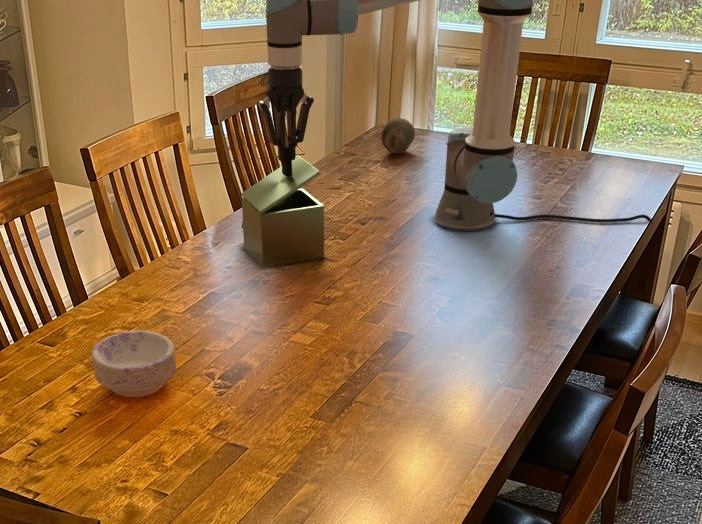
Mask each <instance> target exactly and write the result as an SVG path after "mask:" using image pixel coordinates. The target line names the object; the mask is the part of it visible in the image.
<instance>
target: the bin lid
mask: <svg viewBox="0 0 702 524" xmlns="http://www.w3.org/2000/svg"><path fill="white" fill-rule="evenodd" d="M320 175H322V173H321V171H320V170H319V169H317V168H316V167H315V166H313V165H312V164H310V162H308V161H307V160H305V159H304V158H302V157H301V156H300V155H297V154H296V158H295V160H292V176H288V177H286V176H285V175H284V174H282V165H280V167H278V168H276V169H275V170H274V171H272V172H271V173H269V174H268V175H266V176H265V177H263V178H262V179H260V180H259V181H257V182H256V183H254V184H253V185H251V186H250V187H248V188H247V189H246V190H244V191H243V192H241V193H240V195H241V198H242V197H244V198H245V199H246V200H247V201H248V202H249V203H250V204H251V205H252V206H253V207H254V208H255V209H256V210H257V211H259V212H260V213H261V214H263V213H264V212H266V211H267V210H269V209H270V208H272V207H273V206H275V205H276V204H278V203H279V202H281V201H282V200H283V199H285V198H286V197H288V196H289V195H291V194H292V193H294V192H295V191H297V190H298V189H302V187H304V186H306V185H307V184H308V183H310V182H311V181H313V180H314V179H316V178H317V177H319V176H320Z"/></svg>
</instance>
